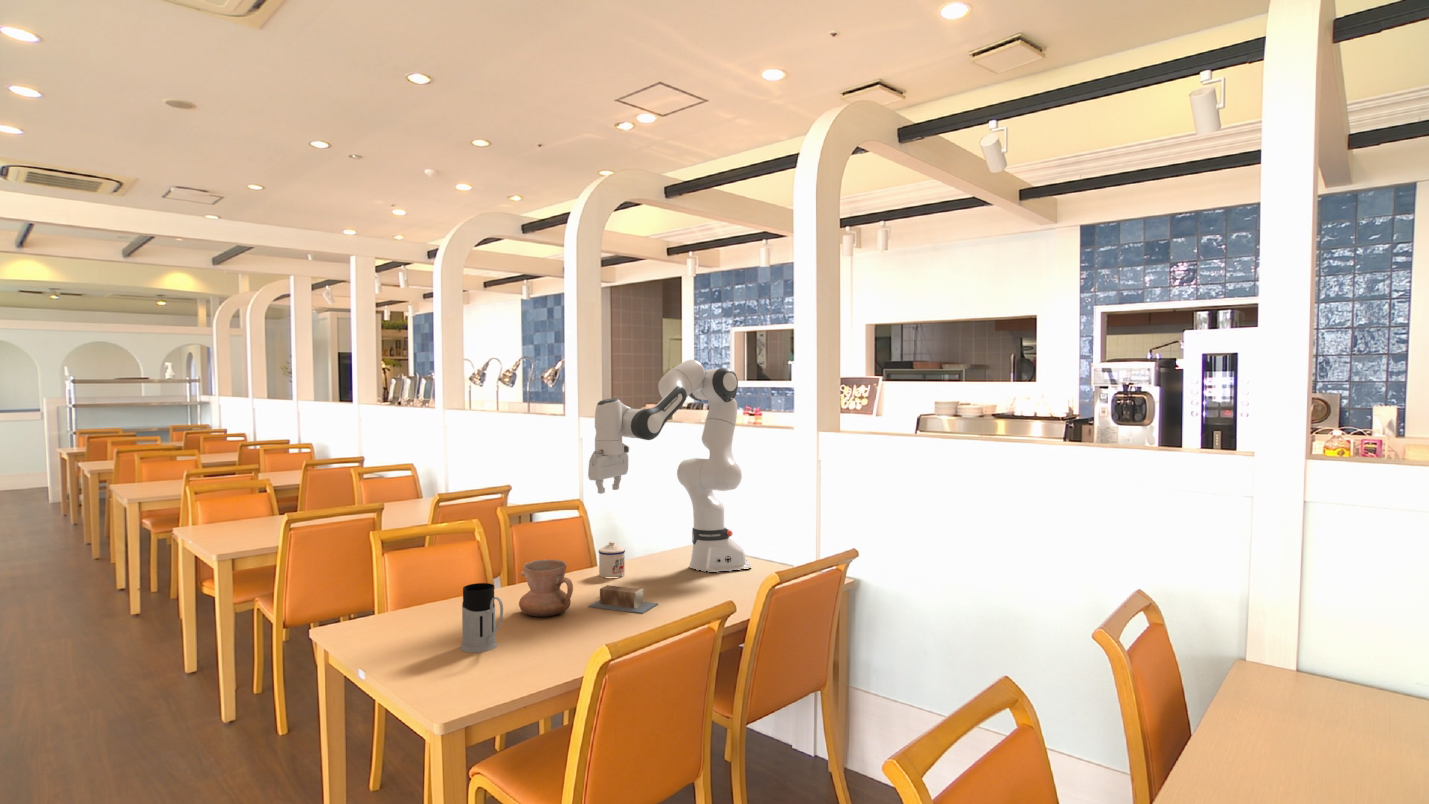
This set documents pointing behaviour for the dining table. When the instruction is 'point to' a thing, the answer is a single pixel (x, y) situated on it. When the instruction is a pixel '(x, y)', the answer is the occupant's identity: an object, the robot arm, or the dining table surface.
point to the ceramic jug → (545, 588)
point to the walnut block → (621, 596)
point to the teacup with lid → (611, 561)
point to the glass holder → (479, 618)
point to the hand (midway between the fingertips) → (608, 491)
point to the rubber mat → (640, 609)
